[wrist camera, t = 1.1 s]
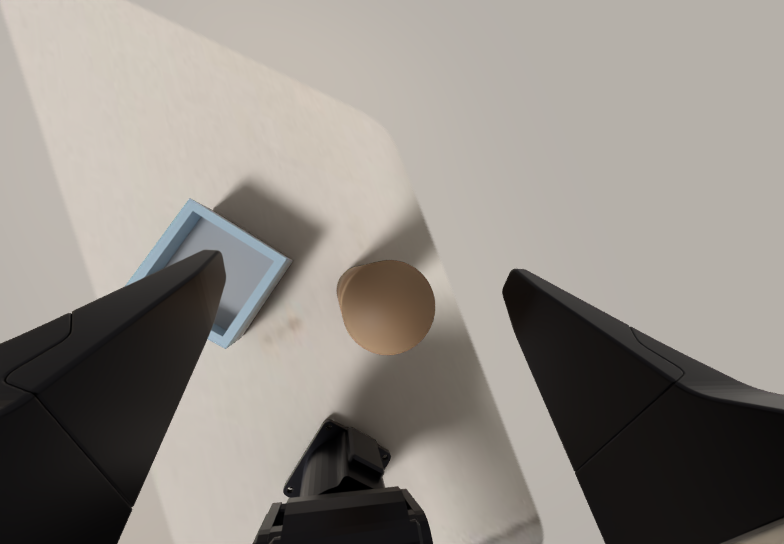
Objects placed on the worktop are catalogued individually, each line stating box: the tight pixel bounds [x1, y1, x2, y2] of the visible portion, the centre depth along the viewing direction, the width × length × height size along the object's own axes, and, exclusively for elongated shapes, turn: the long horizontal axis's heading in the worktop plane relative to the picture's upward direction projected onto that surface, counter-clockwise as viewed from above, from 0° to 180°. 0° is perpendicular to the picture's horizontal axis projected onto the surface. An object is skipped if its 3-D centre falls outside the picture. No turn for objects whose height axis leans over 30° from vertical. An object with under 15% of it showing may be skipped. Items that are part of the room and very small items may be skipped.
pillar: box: [337, 260, 435, 355], centre depth 19 cm, size 4×4×13 cm
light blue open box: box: [125, 198, 293, 349], centre depth 22 cm, size 7×7×4 cm
